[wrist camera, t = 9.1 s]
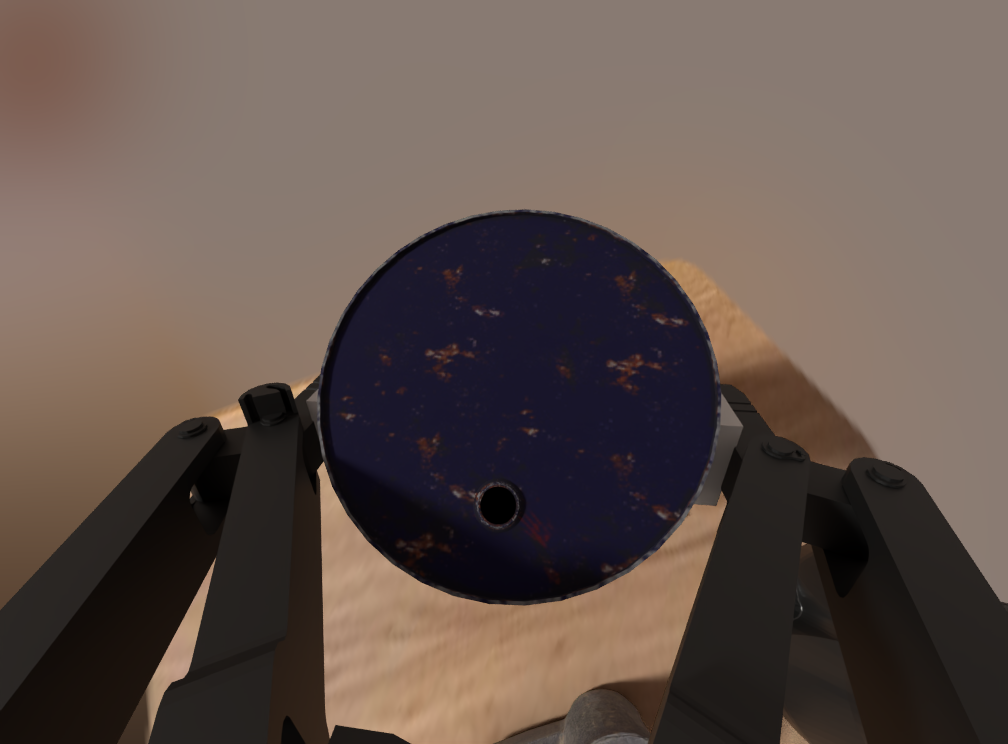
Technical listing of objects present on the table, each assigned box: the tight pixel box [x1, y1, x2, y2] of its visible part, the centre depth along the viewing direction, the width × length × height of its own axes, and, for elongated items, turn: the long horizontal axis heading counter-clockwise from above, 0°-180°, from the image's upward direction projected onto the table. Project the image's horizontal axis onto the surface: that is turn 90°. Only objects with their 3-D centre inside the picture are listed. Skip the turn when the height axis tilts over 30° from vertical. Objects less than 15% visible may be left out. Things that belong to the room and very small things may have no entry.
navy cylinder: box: [317, 210, 721, 605], centre depth 17 cm, size 10×10×15 cm
